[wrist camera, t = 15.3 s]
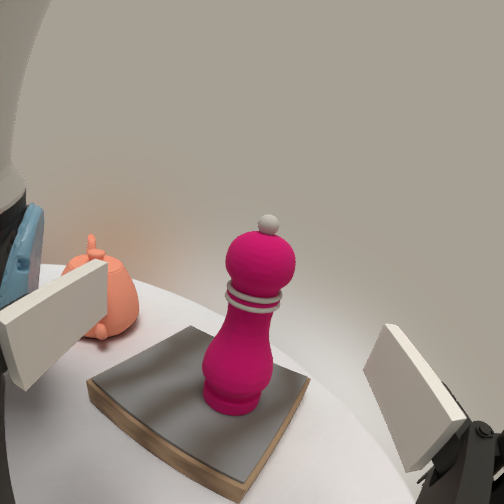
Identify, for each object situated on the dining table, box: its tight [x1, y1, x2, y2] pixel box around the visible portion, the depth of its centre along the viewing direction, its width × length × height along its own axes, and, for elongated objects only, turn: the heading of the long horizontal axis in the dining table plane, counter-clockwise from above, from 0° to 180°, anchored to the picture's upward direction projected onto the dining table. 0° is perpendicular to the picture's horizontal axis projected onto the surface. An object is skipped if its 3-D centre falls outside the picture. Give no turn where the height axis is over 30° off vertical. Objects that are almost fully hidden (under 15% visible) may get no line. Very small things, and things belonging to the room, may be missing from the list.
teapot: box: [60, 234, 139, 340], centre depth 41 cm, size 22×16×12 cm
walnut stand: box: [86, 326, 311, 504], centre depth 29 cm, size 20×20×4 cm
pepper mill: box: [202, 215, 296, 416], centre depth 25 cm, size 7×7×20 cm
